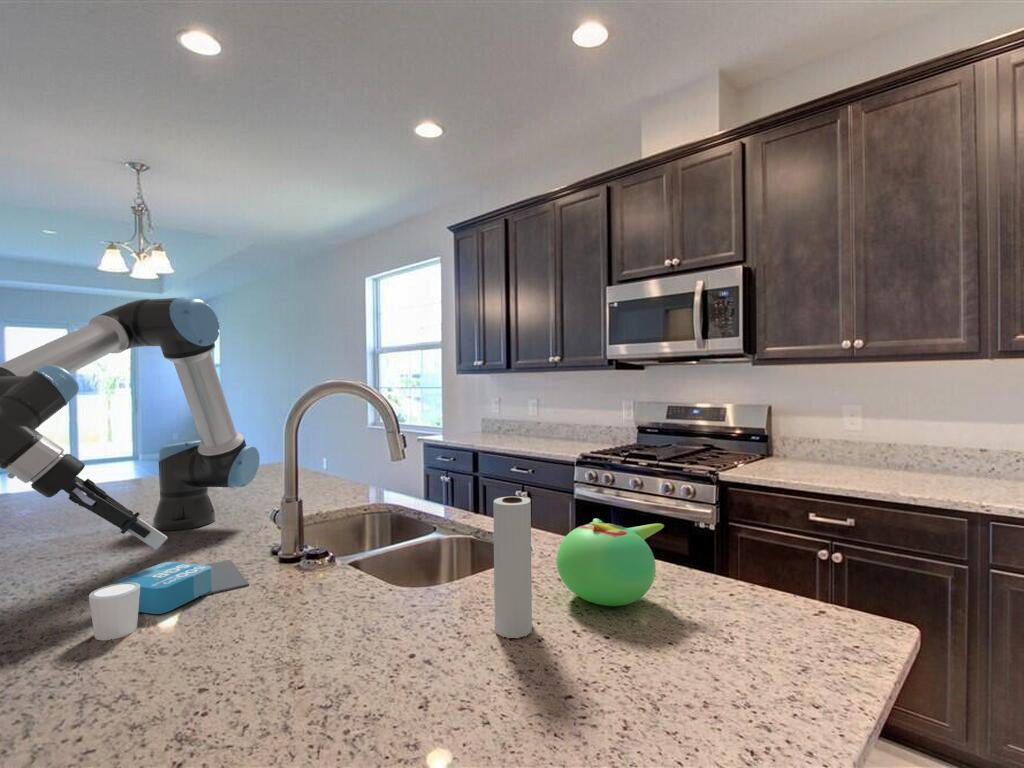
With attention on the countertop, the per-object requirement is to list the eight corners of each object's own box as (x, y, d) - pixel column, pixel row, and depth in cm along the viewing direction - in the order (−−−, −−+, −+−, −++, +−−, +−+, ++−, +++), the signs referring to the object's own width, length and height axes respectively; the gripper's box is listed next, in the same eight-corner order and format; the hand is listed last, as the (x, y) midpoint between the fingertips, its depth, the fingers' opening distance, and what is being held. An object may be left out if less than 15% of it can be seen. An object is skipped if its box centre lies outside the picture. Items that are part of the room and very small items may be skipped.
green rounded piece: (539, 600, 100) (538, 520, 99) (592, 574, 112) (591, 503, 112) (625, 631, 87) (625, 540, 87) (674, 598, 100) (674, 519, 100)
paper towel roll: (505, 643, 84) (503, 505, 83) (488, 627, 89) (487, 497, 89) (545, 632, 87) (544, 499, 87) (527, 618, 93) (525, 492, 92)
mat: (152, 607, 99) (152, 605, 99) (145, 578, 113) (145, 576, 113) (248, 585, 108) (248, 583, 108) (230, 561, 123) (230, 559, 123)
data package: (166, 560, 109) (215, 565, 106) (167, 583, 109) (216, 588, 106) (107, 583, 97) (160, 589, 94) (108, 608, 97) (161, 615, 94)
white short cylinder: (150, 626, 91) (149, 585, 91) (105, 645, 85) (104, 601, 85) (125, 619, 94) (124, 579, 94) (80, 637, 88) (79, 594, 87)
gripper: (31, 479, 100) (143, 551, 110) (24, 491, 90) (148, 568, 100) (67, 448, 103) (173, 520, 114) (65, 455, 93) (181, 534, 103)
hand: (161, 543), depth 107 cm, fingers closed
